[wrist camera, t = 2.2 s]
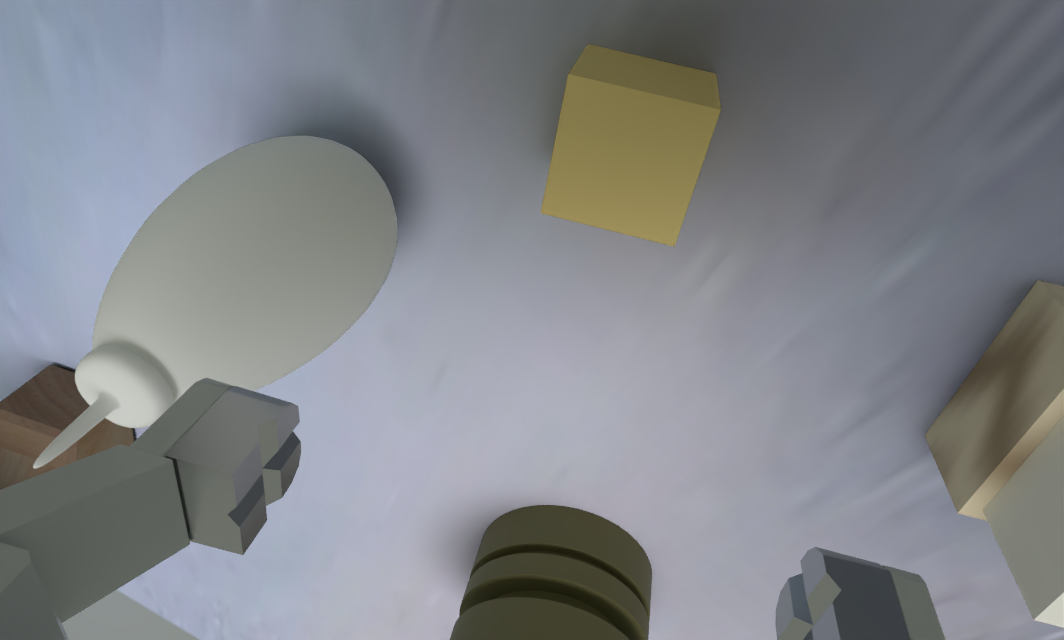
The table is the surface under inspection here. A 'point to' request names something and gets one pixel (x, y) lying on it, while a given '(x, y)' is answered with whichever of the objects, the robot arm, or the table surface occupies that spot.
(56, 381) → the decorative block
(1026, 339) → the birch tower base
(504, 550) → the piston
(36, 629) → the robot arm
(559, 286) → the table surface
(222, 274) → the air blower bulb
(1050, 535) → the painted tower top
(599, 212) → the mustard cube
